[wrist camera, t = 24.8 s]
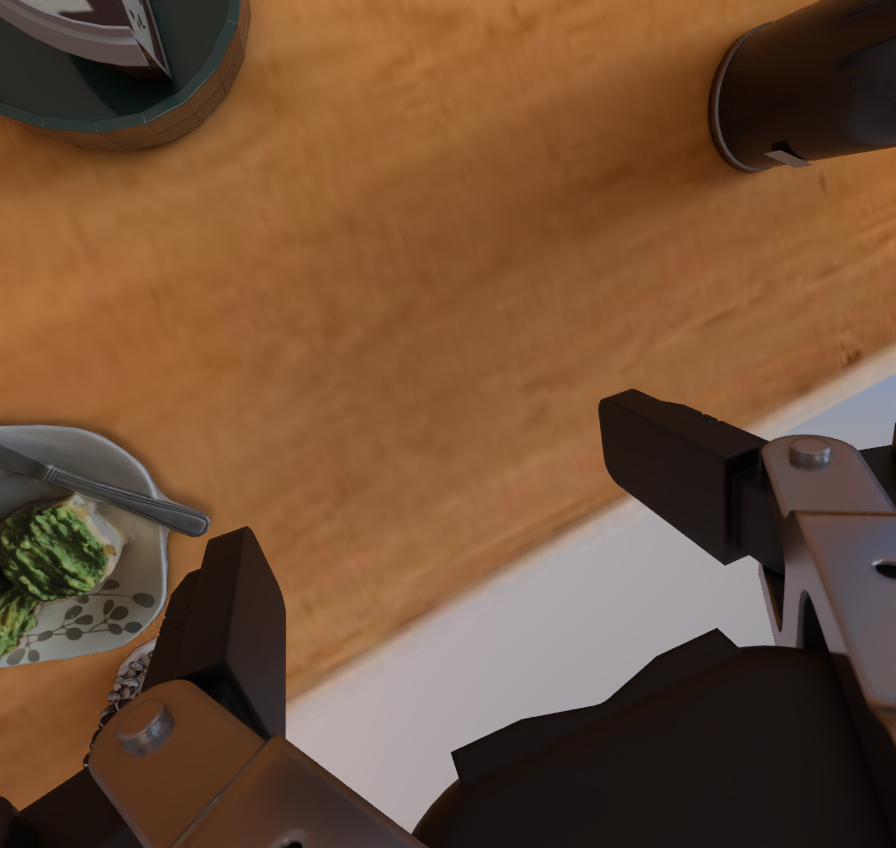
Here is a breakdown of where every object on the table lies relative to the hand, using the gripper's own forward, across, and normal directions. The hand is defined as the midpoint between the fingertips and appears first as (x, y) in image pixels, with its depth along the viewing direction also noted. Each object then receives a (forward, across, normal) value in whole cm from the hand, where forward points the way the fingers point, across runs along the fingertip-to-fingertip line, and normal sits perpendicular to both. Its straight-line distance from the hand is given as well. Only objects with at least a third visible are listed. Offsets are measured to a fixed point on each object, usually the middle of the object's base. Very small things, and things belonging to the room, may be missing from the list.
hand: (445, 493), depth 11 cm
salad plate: (+24, -24, -7) cm, 35 cm away
